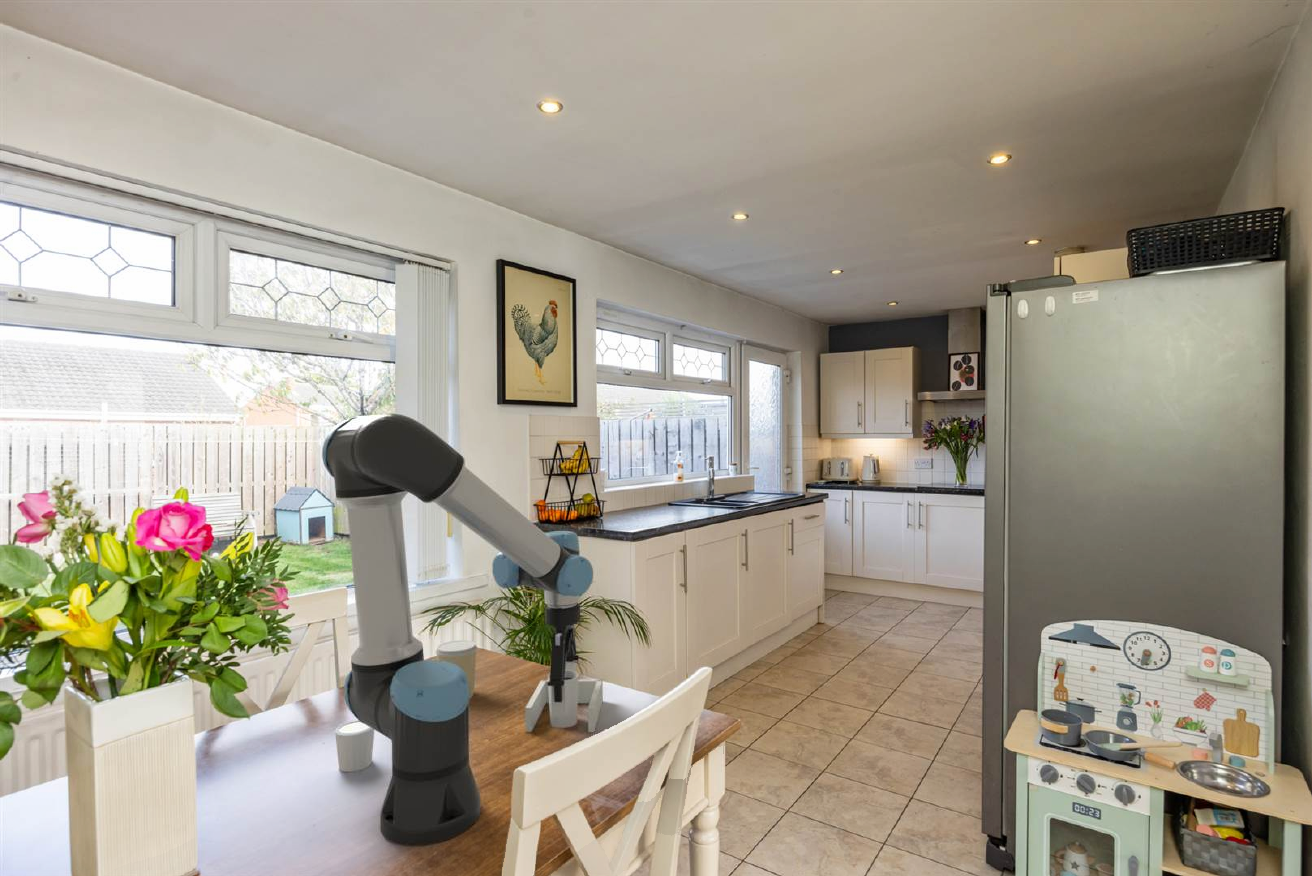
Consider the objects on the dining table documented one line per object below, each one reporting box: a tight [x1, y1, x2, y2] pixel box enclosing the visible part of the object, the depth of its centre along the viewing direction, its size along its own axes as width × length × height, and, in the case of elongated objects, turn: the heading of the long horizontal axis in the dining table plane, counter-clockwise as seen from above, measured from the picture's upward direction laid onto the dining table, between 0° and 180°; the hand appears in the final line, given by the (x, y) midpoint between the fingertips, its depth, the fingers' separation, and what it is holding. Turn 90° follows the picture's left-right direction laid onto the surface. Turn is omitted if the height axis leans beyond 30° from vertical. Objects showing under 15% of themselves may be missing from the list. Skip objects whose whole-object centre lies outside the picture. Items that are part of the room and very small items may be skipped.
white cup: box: [547, 670, 580, 729], centre depth 143 cm, size 7×7×10 cm
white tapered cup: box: [334, 720, 376, 773], centre depth 125 cm, size 7×7×7 cm
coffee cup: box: [435, 639, 478, 699], centre depth 159 cm, size 9×9×12 cm
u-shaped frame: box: [524, 679, 604, 733], centre depth 146 cm, size 14×17×5 cm
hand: (564, 703), depth 143 cm, fingers open, 13 cm apart
